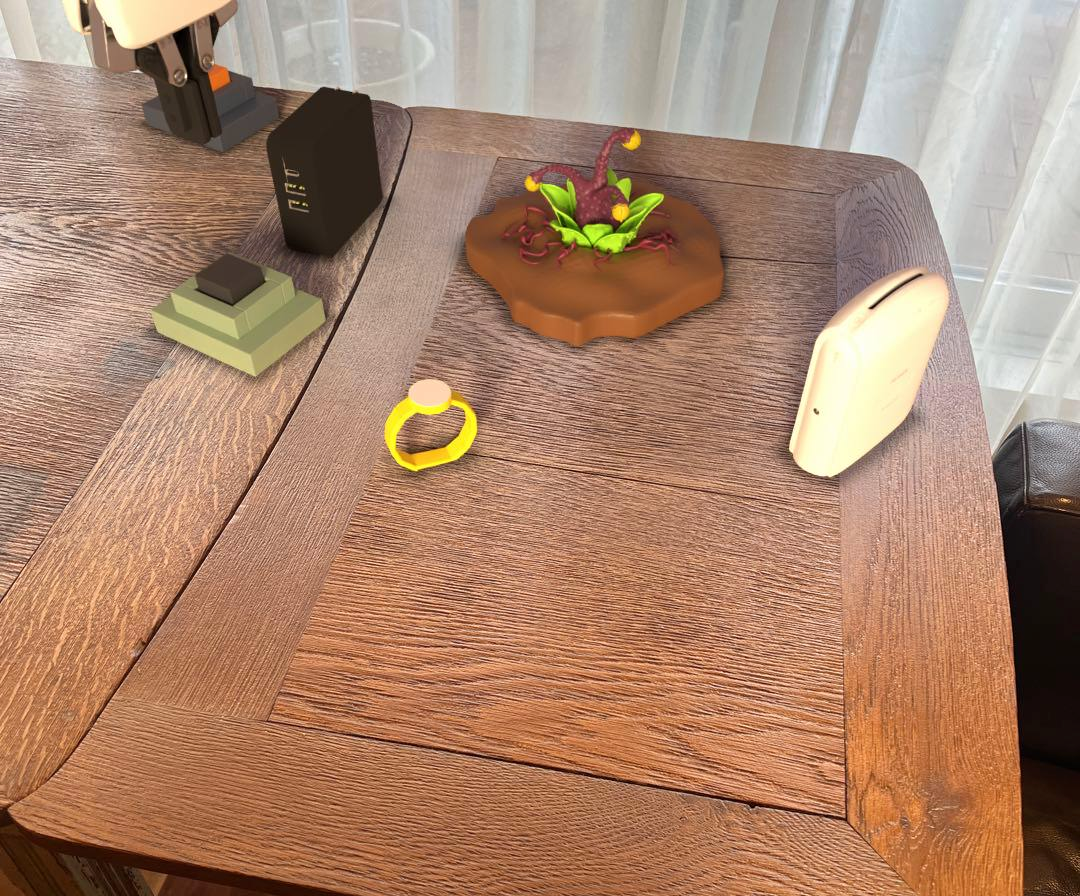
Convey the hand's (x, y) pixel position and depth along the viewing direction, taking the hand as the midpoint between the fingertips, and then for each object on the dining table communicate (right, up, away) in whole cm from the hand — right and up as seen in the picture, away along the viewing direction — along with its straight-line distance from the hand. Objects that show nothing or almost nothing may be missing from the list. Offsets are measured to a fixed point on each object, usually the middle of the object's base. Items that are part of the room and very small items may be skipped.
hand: (196, 134), depth 67 cm
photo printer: (+44, -20, +4) cm, 48 cm away
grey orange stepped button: (-9, +14, +33) cm, 38 cm away
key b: (-9, +17, +31) cm, 36 cm away
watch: (+15, -21, +2) cm, 26 cm away
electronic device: (+5, 0, +21) cm, 22 cm away
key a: (0, -8, +9) cm, 12 cm away
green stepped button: (0, -10, +12) cm, 16 cm away
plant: (+27, -4, +18) cm, 33 cm away
